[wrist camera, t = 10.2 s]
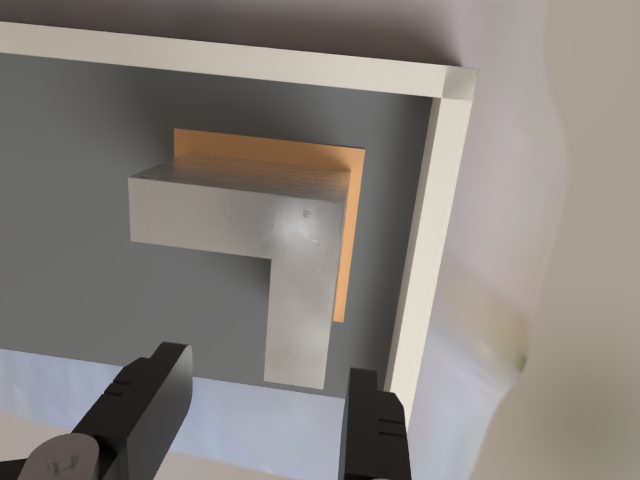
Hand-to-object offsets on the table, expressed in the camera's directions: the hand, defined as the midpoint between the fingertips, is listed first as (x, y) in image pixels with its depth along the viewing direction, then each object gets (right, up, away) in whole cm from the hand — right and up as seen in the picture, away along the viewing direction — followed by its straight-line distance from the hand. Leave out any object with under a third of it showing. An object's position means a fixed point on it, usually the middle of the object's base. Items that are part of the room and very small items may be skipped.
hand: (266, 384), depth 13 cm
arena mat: (-5, +5, +12) cm, 14 cm away
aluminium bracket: (-1, +4, +11) cm, 12 cm away
